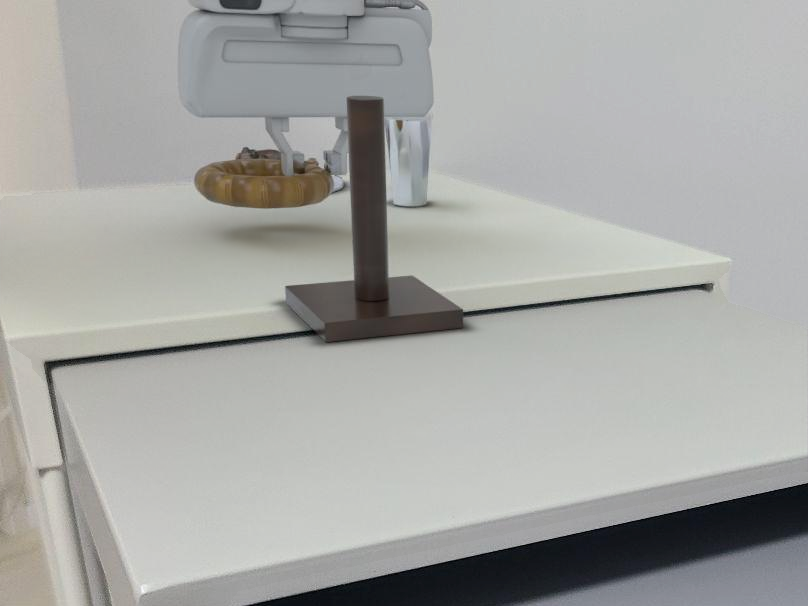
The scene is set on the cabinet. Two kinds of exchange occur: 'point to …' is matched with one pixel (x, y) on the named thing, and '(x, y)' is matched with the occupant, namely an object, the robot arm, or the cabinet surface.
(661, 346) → the cabinet surface
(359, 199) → the post
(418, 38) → the robot arm
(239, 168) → the ring
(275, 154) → the frog figurine
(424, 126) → the milkshake
